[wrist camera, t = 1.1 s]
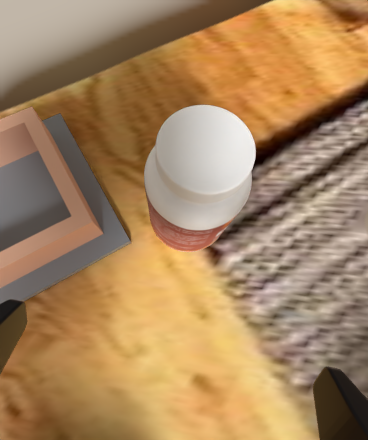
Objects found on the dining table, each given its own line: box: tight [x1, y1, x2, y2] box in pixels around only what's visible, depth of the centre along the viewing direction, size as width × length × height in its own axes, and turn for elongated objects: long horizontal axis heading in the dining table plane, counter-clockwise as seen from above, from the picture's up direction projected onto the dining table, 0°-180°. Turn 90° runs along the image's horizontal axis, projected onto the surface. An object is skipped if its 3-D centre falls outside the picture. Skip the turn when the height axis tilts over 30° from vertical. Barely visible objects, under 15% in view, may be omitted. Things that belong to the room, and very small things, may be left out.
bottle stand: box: [0, 107, 131, 304], centre depth 20 cm, size 13×13×4 cm
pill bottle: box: [144, 105, 256, 252], centre depth 18 cm, size 6×6×11 cm
